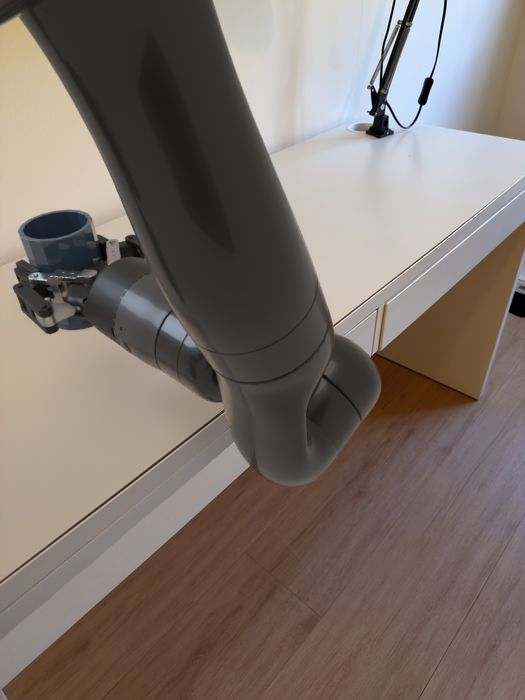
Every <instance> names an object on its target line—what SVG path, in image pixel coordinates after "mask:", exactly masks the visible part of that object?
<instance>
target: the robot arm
mask: <svg viewBox="0 0 525 700" xmlns="http://www.w3.org/2000/svg"><path fill="white" fill-rule="evenodd" d="M214 2H215V1H214V0H0V27H1V28H2V26H5V25H6V24H8V23H10V22H12V21H14V20H16V19H17V18H19V20H20V21H21V24H23V26H24V27H25V28H26V30H27V31H28V33H29V34H30V35H31V37H32V38H33V40H34V41H35V43H36V44H37V46H38V47H39V49H40V50H41V52H42V54H43V55H44V56H45V58H46V60H47V61H48V63H49V64H50V66H51V68H52V69H53V71H54V72H55V74H56V76H57V77H58V79H59V81H60V82H61V84H62V86H63V88H64V89H65V90H66V93H67V94H68V96H69V97H70V99H71V101H72V103H73V104H74V106H75V108H76V110H77V112H78V114H79V116H80V118H81V120H82V121H83V123H84V125H85V127H86V129H87V130H88V132H89V134H90V136H91V138H92V140H93V142H94V144H95V147H96V149H97V150H98V153H99V155H100V157H101V160H102V162H103V163H104V165H105V167H106V170H107V172H108V174H109V176H110V179H111V181H112V183H113V185H114V188H115V189H116V190H115V191H116V192H117V195H118V197H119V200H120V202H121V204H122V207H123V209H124V211H125V214H126V216H127V219H128V221H129V223H130V226H131V229H132V231H133V233H134V234H128V235H126V236H124V240H123V241H119V240H118V239H117V238H112V239H110V238H107V237H105V236H103V235H101V234H97V233H96V234H97V238H98V242H99V245H100V249H101V253H102V257H103V261H102V260H101V261H99V262H97V263H95V264H93V265H92V266H90V267H89V268H85V269H82V270H79V271H72V270H60V269H57V270H56V271H55V272H54V273H41V272H40V270H38V269H37V268H35V267H34V266H32V265H31V264H29V261H27V260H25V259H20V260H18V261H16V262H15V266H16V267H14V268H13V272H14V274H15V276H16V280H17V283H15V284H14V285H12V290H13V292H14V294H15V296H16V298H17V301H18V303H19V307H20V310H21V312H22V313H24V314H25V316H27V318H29V319H30V320H31V321H32V322H33V323H34V324H36V326H38V327H39V328H40V329H41V330H42V331H43V332H44V333H45V334H47V335H53V334H55V333H57V332H58V331H59V330H60V328H59V326H58V322H60V321H62V320H64V319H66V318H68V317H70V316H74V317H76V318H82V319H86V320H88V321H89V322H90V323H91V324H92V325H93V327H94V328H95V329H96V330H97V331H99V332H100V333H101V334H102V335H104V336H105V337H107V338H109V339H110V340H111V341H113V342H114V343H116V344H117V345H118V346H120V347H121V348H123V349H124V350H125V351H126V352H127V353H129V354H131V355H133V356H134V357H136V358H137V359H138V360H140V361H141V362H143V363H144V364H146V365H148V366H149V367H151V368H154V369H156V370H159V371H161V372H162V373H164V374H165V375H167V376H168V377H170V378H171V379H173V380H174V381H176V382H177V383H178V384H180V385H181V386H183V387H184V388H186V389H187V390H188V391H190V392H191V393H193V394H194V395H195V396H197V397H198V398H201V399H202V400H204V401H206V402H210V403H213V404H222V405H223V411H224V415H225V420H226V425H227V427H228V430H229V433H230V436H231V438H232V440H233V442H234V444H235V446H236V448H237V450H238V451H239V453H240V454H241V456H242V458H243V459H244V460H245V462H246V463H247V464H248V465H249V466H250V468H251V469H253V470H254V471H255V472H256V473H257V474H258V475H260V476H261V477H262V478H264V479H265V480H267V481H269V482H271V483H273V484H275V485H278V486H281V487H288V488H297V487H305V486H307V485H310V484H312V483H314V482H316V481H317V480H318V479H320V478H321V477H322V476H323V475H324V474H326V472H327V471H328V470H329V468H331V466H332V464H333V463H334V462H335V460H336V459H337V457H338V455H339V454H340V453H341V452H342V450H343V449H344V448H345V446H346V445H347V444H348V442H349V441H350V440H351V438H352V437H353V435H354V434H355V433H356V431H358V429H359V428H360V426H361V424H362V423H363V422H364V421H365V419H367V416H368V415H369V414H370V413H371V411H372V410H373V408H374V407H375V405H376V404H377V402H378V400H379V399H380V396H381V393H382V387H383V386H382V385H383V384H382V378H381V374H380V371H379V368H378V366H377V364H376V363H375V361H374V360H373V358H372V357H371V356H370V354H369V353H367V352H366V351H365V350H364V349H363V348H362V347H361V346H360V345H359V344H357V343H355V341H353V340H352V339H350V338H348V337H346V336H344V335H342V334H340V333H337V332H335V326H334V322H333V319H332V314H331V312H330V309H329V306H328V303H327V299H326V297H325V293H324V291H323V287H322V284H321V282H320V278H319V276H318V273H317V270H316V267H315V264H314V262H313V259H312V256H311V254H310V253H311V252H310V251H309V248H308V246H307V245H308V244H307V243H306V240H305V237H304V235H303V233H302V230H301V228H300V225H299V223H298V220H297V218H296V216H295V213H294V211H293V208H292V206H291V204H290V201H289V199H288V197H287V194H286V192H285V190H284V188H283V187H284V186H283V185H282V183H281V180H280V177H279V176H278V175H279V174H278V173H277V170H276V168H275V166H274V163H273V161H272V158H271V156H270V154H269V151H268V148H267V146H266V144H265V140H264V139H263V136H262V134H261V131H260V129H259V126H258V124H257V122H256V119H255V117H254V113H253V111H252V109H251V107H250V103H249V101H248V99H247V95H246V94H245V90H244V88H243V85H242V83H241V80H240V78H239V75H238V73H237V69H236V67H235V63H234V60H233V58H232V55H231V51H230V49H229V46H228V43H227V40H226V37H225V34H224V32H223V28H222V25H221V21H220V19H219V14H218V12H217V9H216V6H215V3H214ZM66 282H69V286H68V288H67V285H66ZM46 285H50V286H51V287H52V290H53V291H48V289H47V286H46Z"/></svg>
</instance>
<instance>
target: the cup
mask: <svg viewBox="0 0 525 700" xmlns="http://www.w3.org/2000/svg"><path fill="white" fill-rule="evenodd" d="M17 233H18V236H19V239H20V242H21V244H22V247H23V250H24V252H25V256H26V258H27V262H28V263H29V264H31V265H32V266H34V267H35V268H37V269H38V270H40V272H41V273H54V272H55V271H56V270H57V269H60V270H72V271H79V270H82V269H85V268H89V267H90V266H92V265H93V264H95V263H97V262H99V261H101V260H102V261H103V257H102V253H101V249H100V245H99V242H98V238H97V231H96V227H95V223H94V220H93V217H92V216H91V214H90V213H89V212H86V211H84V210H80V209H79V210H78V209H59V210H58V209H57V210H52V211H47V212H44V213H40V214H38V215H36V216H33V217H31V218H29V219H27V220H25V222H23V223H22V224H21V225H20V226H19V228H18V230H17ZM66 285H67V288H68V286H69V282H66ZM46 286H47V289H48V291H53V290H52V287H51V286H50V285H46ZM58 326H59V330H64V331H81V330H82V331H83V330H86V329H91V328H93V327H94V326H93V325H92V324H91V323H90V322H89V321H88V320H86V319H82V318H76V317H74V316H70V317H68V318H66V319H64V320H62V321H60V322H58Z"/></svg>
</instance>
